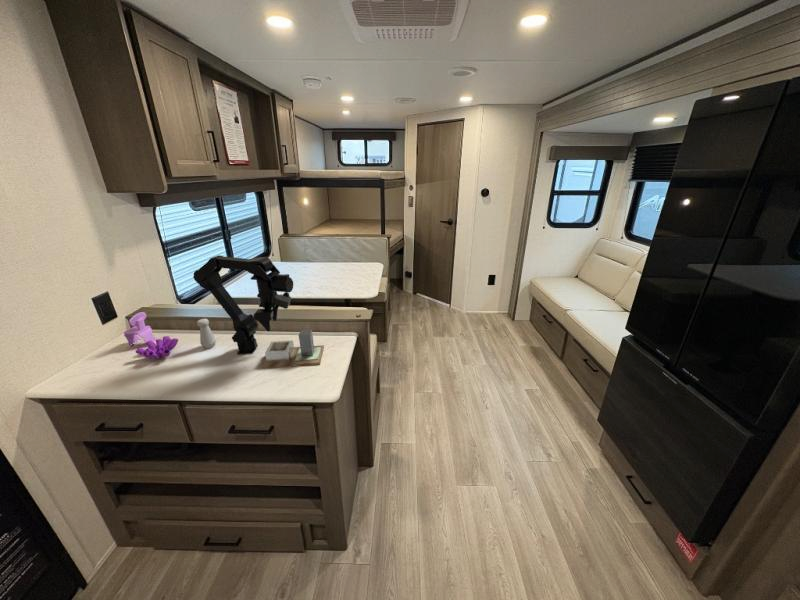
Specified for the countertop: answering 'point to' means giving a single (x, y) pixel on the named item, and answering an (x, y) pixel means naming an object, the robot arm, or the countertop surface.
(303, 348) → the steel key
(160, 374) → the countertop surface
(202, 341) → the salt shaker
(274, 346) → the socket
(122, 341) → the countertop surface
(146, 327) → the toy chair
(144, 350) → the purple coral
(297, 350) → the stand board
